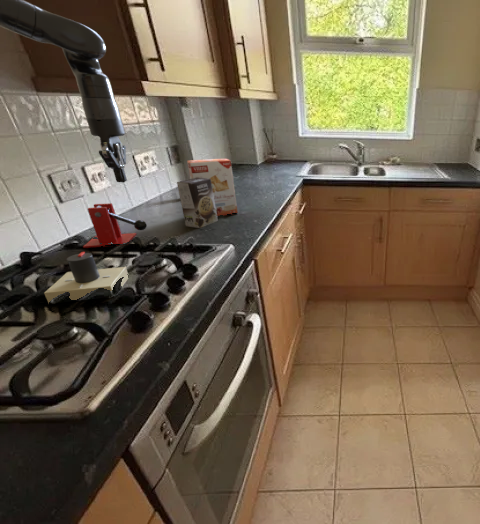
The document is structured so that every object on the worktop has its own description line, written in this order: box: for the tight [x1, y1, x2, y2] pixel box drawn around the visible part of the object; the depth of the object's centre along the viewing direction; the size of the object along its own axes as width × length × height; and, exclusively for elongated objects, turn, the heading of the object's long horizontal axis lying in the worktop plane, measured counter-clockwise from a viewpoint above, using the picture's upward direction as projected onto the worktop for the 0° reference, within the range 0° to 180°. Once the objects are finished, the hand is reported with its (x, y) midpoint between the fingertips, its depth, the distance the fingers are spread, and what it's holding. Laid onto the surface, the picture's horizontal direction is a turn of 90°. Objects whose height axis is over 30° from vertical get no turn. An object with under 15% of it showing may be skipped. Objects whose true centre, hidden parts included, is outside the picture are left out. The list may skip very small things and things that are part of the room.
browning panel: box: [43, 266, 129, 304], centre depth 76 cm, size 12×10×3 cm
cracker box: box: [186, 158, 239, 217], centre depth 126 cm, size 14×6×21 cm, turn 126°
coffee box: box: [176, 178, 219, 229], centre depth 115 cm, size 9×6×16 cm
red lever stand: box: [82, 202, 138, 249], centre depth 99 cm, size 11×9×12 cm
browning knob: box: [66, 251, 100, 283], centre depth 74 cm, size 4×4×6 cm
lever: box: [97, 206, 147, 231], centre depth 100 cm, size 13×3×3 cm, turn 105°
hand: (121, 181), depth 96 cm, fingers closed
